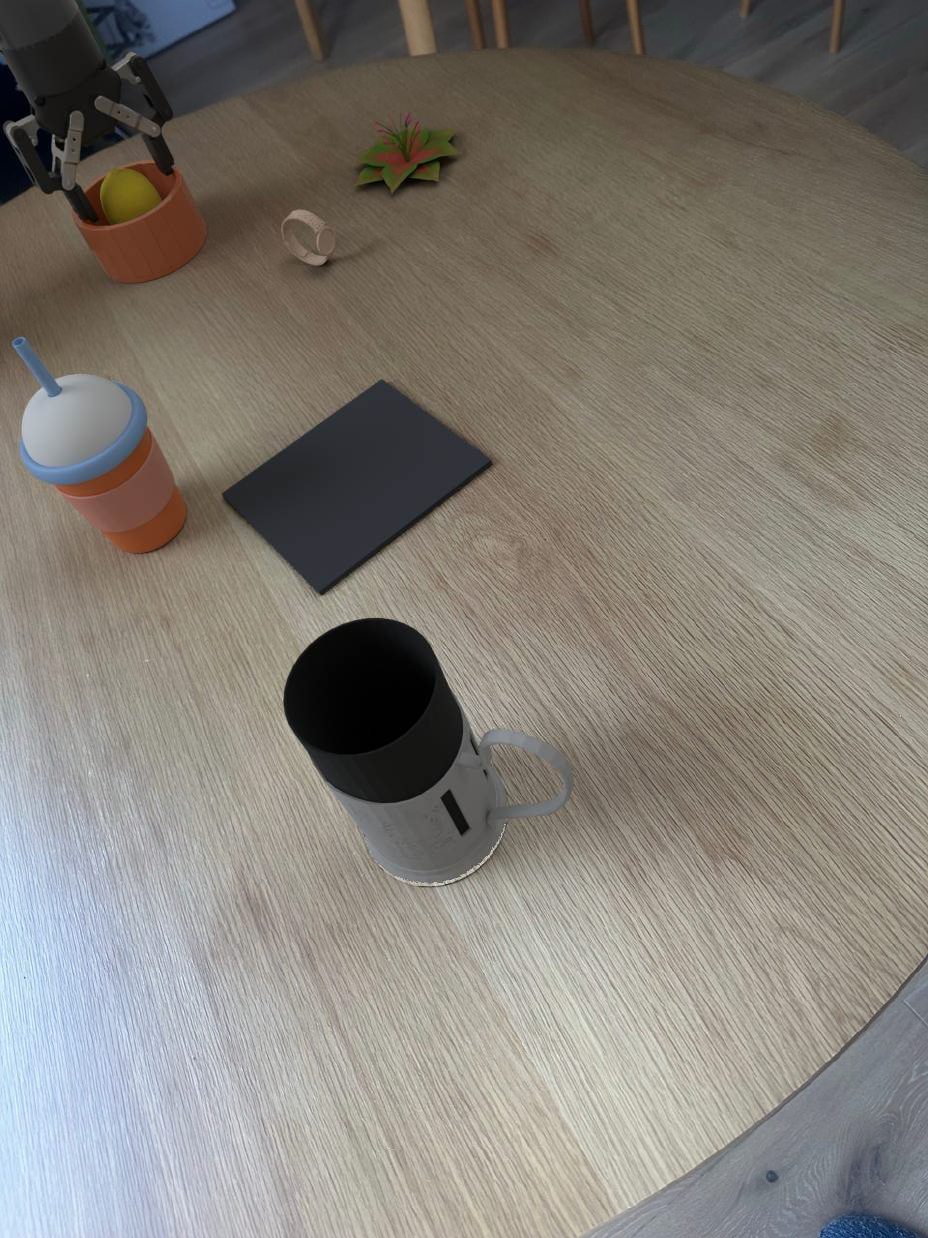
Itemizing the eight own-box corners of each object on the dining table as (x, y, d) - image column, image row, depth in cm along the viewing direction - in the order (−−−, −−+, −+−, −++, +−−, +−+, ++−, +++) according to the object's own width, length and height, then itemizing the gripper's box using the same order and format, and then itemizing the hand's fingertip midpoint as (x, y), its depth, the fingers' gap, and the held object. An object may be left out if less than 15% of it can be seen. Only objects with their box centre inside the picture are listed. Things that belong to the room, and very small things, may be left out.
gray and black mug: (399, 731, 61) (321, 591, 49) (619, 793, 56) (592, 652, 44) (338, 860, 57) (237, 742, 45) (569, 940, 52) (524, 830, 40)
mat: (321, 596, 69) (318, 591, 68) (223, 497, 77) (221, 493, 76) (492, 464, 73) (491, 459, 72) (383, 382, 80) (381, 378, 80)
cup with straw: (201, 557, 73) (74, 373, 59) (87, 580, 75) (-64, 405, 60) (209, 469, 79) (95, 281, 64) (103, 492, 80) (-33, 312, 65)
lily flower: (478, 124, 100) (469, 78, 96) (451, 195, 93) (440, 150, 90) (368, 133, 103) (355, 89, 100) (335, 202, 97) (320, 159, 93)
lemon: (161, 261, 97) (122, 187, 90) (116, 259, 99) (74, 186, 92) (188, 226, 99) (151, 151, 93) (144, 225, 101) (105, 151, 95)
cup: (132, 298, 95) (101, 244, 90) (85, 256, 101) (53, 204, 96) (227, 237, 98) (201, 181, 93) (175, 200, 104) (148, 146, 99)
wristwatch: (328, 273, 91) (310, 225, 87) (288, 265, 93) (268, 218, 89) (344, 255, 92) (327, 207, 88) (304, 248, 94) (285, 200, 90)
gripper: (88, -30, 85) (173, 146, 98) (-56, 51, 82) (52, 221, 95) (124, -12, 81) (208, 169, 94) (-25, 73, 78) (83, 249, 91)
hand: (130, 195), depth 95 cm, fingers open, 8 cm apart
